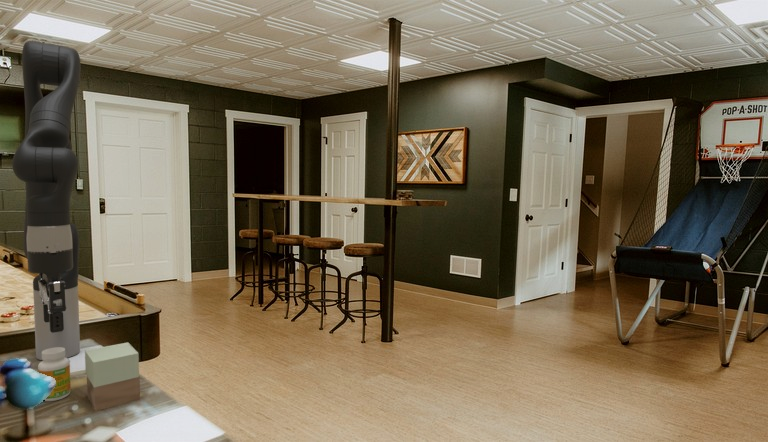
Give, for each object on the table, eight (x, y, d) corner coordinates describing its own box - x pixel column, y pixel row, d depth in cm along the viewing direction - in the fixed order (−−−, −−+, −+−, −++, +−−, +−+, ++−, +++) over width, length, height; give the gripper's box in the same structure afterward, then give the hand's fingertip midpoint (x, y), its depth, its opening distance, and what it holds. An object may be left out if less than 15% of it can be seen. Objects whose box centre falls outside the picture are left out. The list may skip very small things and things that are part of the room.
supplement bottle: (54, 403, 96) (53, 356, 95) (32, 400, 97) (30, 353, 96) (77, 391, 101) (75, 347, 100) (55, 388, 102) (53, 344, 101)
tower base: (87, 397, 100) (86, 373, 99) (129, 386, 105) (129, 364, 104) (95, 411, 94) (94, 387, 93) (140, 400, 99) (139, 376, 98)
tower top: (85, 373, 99) (84, 350, 98) (128, 364, 104) (127, 342, 104) (94, 387, 93) (93, 362, 93) (138, 376, 98) (138, 353, 98)
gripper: (23, 245, 99) (26, 321, 101) (31, 253, 89) (35, 339, 90) (66, 242, 104) (69, 315, 106) (78, 250, 94) (82, 331, 95)
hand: (53, 326), depth 98 cm, fingers open, 8 cm apart
